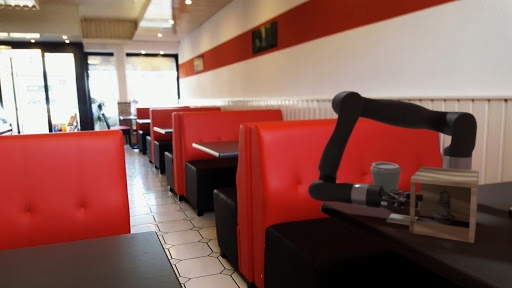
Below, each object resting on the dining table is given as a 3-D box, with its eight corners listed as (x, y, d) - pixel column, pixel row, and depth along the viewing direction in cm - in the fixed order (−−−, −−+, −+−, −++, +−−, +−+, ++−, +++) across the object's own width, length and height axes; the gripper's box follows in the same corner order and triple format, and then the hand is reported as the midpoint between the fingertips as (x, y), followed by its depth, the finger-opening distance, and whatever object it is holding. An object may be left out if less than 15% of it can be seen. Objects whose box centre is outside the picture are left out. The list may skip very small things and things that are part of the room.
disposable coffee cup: (406, 204, 136) (407, 163, 134) (388, 209, 130) (389, 167, 128) (382, 198, 145) (382, 160, 143) (363, 203, 139) (364, 163, 137)
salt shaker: (457, 230, 108) (459, 190, 107) (435, 230, 110) (437, 190, 108) (451, 224, 114) (452, 186, 113) (430, 223, 115) (431, 185, 114)
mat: (391, 214, 125) (391, 213, 125) (417, 218, 120) (417, 217, 120) (386, 221, 118) (386, 220, 118) (413, 225, 114) (413, 224, 114)
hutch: (419, 214, 124) (421, 166, 122) (476, 221, 116) (478, 170, 114) (409, 232, 108) (410, 177, 106) (473, 242, 99) (476, 183, 98)
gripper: (361, 189, 117) (417, 195, 108) (373, 180, 129) (424, 184, 120) (361, 212, 118) (416, 220, 109) (373, 201, 130) (423, 207, 121)
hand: (420, 201), depth 115 cm, fingers open, 8 cm apart
